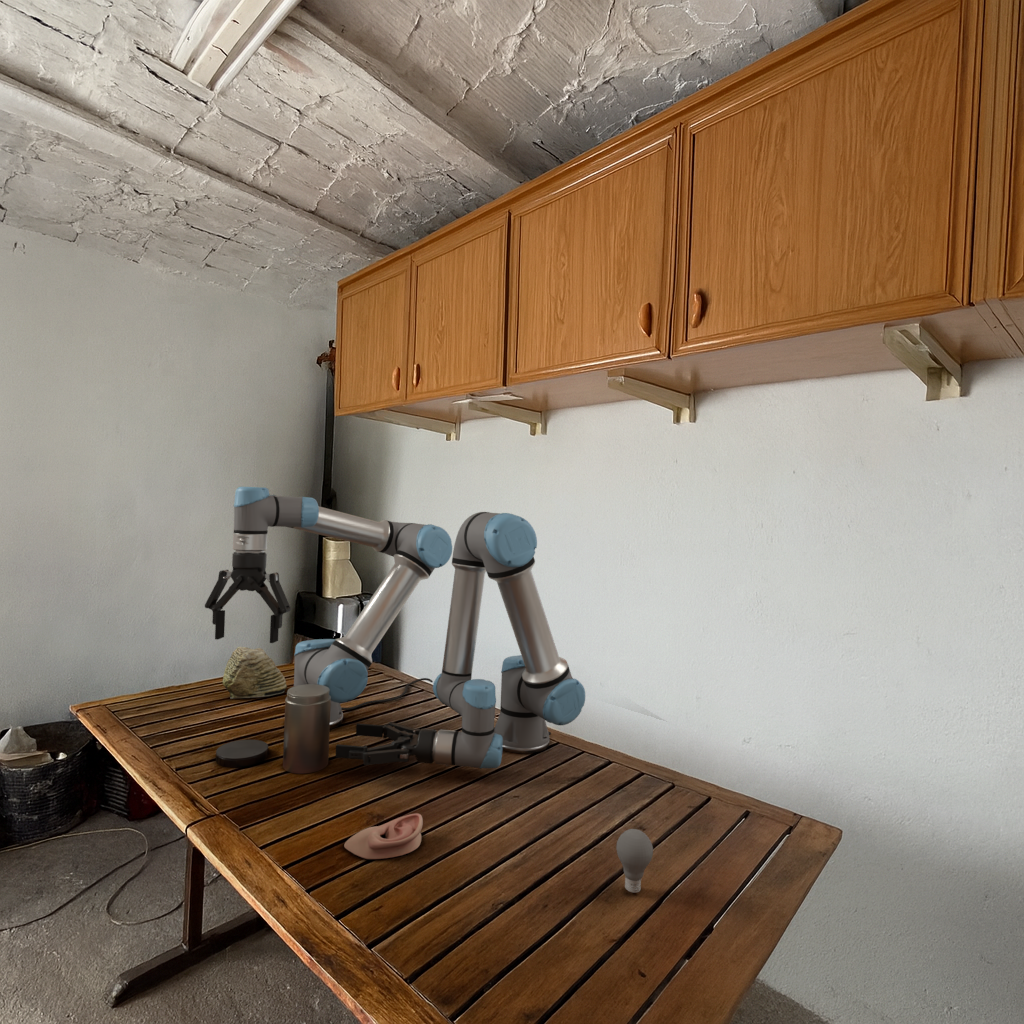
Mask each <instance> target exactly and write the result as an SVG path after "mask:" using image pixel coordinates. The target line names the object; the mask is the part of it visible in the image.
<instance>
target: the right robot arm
mask: <svg viewBox="0 0 1024 1024" xmlns="http://www.w3.org/2000/svg"><path fill="white" fill-rule="evenodd" d="M537 547H538V538H537V534H536V531H535V529H534V527H533V526H532V524H531V523H530V522H529V521H528V520H527V519H526V518H523V517H522V516H519V515H516V514H513V513H509V512H502V513H498V512H490V511H479V512H476V513H473V514H471V515H469V516H468V517H467V518H466V519H465V520H464V521H463V523H462V524H461V526H460V527H459V529H458V531H457V534H456V538H455V542H454V545H453V549H452V556H451V557H452V558H451V565H452V566H453V568H454V575H453V582H452V589H451V597H450V598H451V599H450V605H449V613H448V614H449V615H448V621H447V629H446V635H445V636H446V637H445V644H444V652H443V661H442V668H441V673H439V674H438V675H437V676H436V678H435V679H434V681H433V682H432V683H433V684H432V693H433V694H434V696H435V698H436V699H437V700H439V702H440V703H441V704H442V705H444V706H447V707H448V708H450V709H451V710H453V711H454V712H456V713H457V714H458V715H459V716H461V731H459V730H449V729H439V730H438V731H437V730H436V729H433V728H421V729H420V728H415V727H410V726H406V725H404V724H400V723H396V722H393V721H389V722H388V724H387V723H386V724H384V725H383V724H371V723H370V724H369V723H359V722H357V723H356V724H355V736H360V737H373V738H383V739H390V740H392V741H391V743H387V744H383V745H378V746H373V747H368V746H367V745H363V746H362V745H351V744H340V743H339V744H338V743H337V744H336V745H335V758H337V759H347V760H348V759H349V760H359V761H363V766H372V765H373V766H374V765H383V764H390V763H408V762H409V761H410V756H415V758H416V761H417V763H419V764H427V765H432V764H434V763H435V765H444V766H445V767H447V768H448V767H450V766H454V767H455V766H456V767H457V766H458V767H467V768H476V769H481V770H482V769H498V768H499V767H500V765H501V763H502V759H503V751H504V752H508V753H512V754H536V753H539V752H543V751H544V750H547V749H548V748H549V746H550V738H551V737H550V736H551V734H552V733H551V732H550V731H549V729H548V726H547V723H550V724H553V725H556V726H566V725H568V724H570V723H572V722H573V721H575V720H576V719H577V718H578V717H579V715H580V714H581V713H582V709H583V707H584V706H585V702H586V690H585V687H584V685H583V684H582V683H581V682H580V681H579V680H578V679H577V678H574V677H573V676H572V673H571V670H570V666H569V663H568V661H567V660H566V659H565V658H563V657H562V656H559V652H558V650H557V646H556V643H555V640H554V637H553V634H552V630H551V628H550V625H549V621H548V618H547V615H546V612H545V609H544V606H543V603H542V600H541V596H540V593H539V590H538V587H537V583H536V581H535V577H534V575H533V571H532V570H533V568H534V566H535V564H536V559H535V558H534V556H535V554H536V549H537ZM486 574H487V577H488V579H490V580H493V581H495V582H496V585H497V587H498V590H499V592H500V596H501V598H502V602H503V604H504V608H505V610H506V613H507V615H508V619H509V622H510V623H509V624H510V625H511V628H512V631H513V634H514V638H515V641H516V643H517V646H518V649H519V652H520V654H519V655H518V654H517V655H512V656H508V657H505V658H504V659H503V661H502V664H501V670H500V673H501V679H500V680H501V682H500V707H499V709H500V710H499V715H498V717H497V720H496V719H495V717H496V705H497V704H496V703H497V697H496V696H497V695H496V684H495V683H494V682H492V681H490V680H486V679H483V678H474V679H473V678H472V675H473V667H474V661H475V653H476V652H475V651H476V646H477V636H478V629H479V623H480V622H479V621H480V615H481V609H482V608H481V607H482V599H483V591H484V585H485V584H484V583H485V576H486ZM495 720H496V723H495Z"/></svg>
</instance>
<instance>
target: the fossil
mask: <svg viewBox="0 0 1024 1024" xmlns="http://www.w3.org/2000/svg"><path fill="white" fill-rule="evenodd" d="M222 676H223V677H222V685H223V687H224V688H225V690H226V691H228V693H229V698H230V699H250V698H264V697H271V696H275V695H281V694H284V693H285V691H286V689H287V687H288V686H287V680H286V678H285V676H284V674H283V673H282V672H281V669H279V668H278V667H277V665H276V663H275V662H274V660H273V659H272V658H271V657H270V656H269V655H268V654H267V653H266V652H265V650H264V649H263V648H260V647H258V648H251V647H247V646H246V647H245V646H238V647H237V648H236V649H235V650H233V651H232V653H231V656H230V657H229V659H228V660H227V663H226V666H225V668H224V671H223V675H222Z"/></svg>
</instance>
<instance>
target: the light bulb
mask: <svg viewBox="0 0 1024 1024" xmlns="http://www.w3.org/2000/svg"><path fill="white" fill-rule="evenodd" d="M615 849H616V854H617V857H618V859H619V861H620V863H621V865H622V867H623V873H624V874H623V875H624V876H625V878H624V888H625V890H627V891H628V892H630V893H634V894H635V893H639V892H640V891H641V889H642V887H641V886H642V879H643V877H644V875H645V871H646V868H647V867H648V866H649V864H650V863H651V861H652V859H653V855H654V847H653V843H652V841H651V838H649V836H648V835H647V834H646V833H645V832H643V831H642V830H641V829H636V828H629V829H627V830H625V831H623V832H622V833H621V834H620V835H619V837H618V839H617V841H616V847H615Z"/></svg>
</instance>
